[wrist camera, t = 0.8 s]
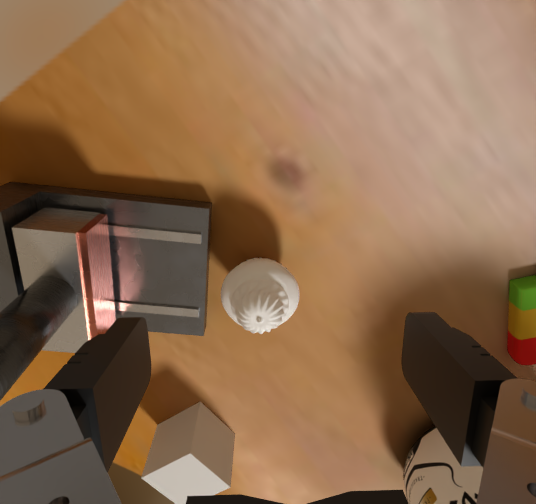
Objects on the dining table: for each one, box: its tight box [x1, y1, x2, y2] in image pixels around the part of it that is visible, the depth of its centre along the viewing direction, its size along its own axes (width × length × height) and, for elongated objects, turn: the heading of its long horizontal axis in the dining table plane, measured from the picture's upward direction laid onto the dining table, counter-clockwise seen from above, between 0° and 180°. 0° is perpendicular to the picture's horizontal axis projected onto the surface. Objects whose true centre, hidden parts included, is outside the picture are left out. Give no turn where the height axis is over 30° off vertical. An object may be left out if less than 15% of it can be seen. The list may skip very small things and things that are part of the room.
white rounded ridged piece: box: [221, 257, 299, 334], centre depth 29 cm, size 6×6×7 cm
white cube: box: [141, 402, 235, 504], centre depth 38 cm, size 6×6×6 cm
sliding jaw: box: [0, 207, 116, 400], centre depth 24 cm, size 10×5×13 cm, turn 174°
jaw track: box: [0, 182, 212, 336], centre depth 29 cm, size 12×16×6 cm
